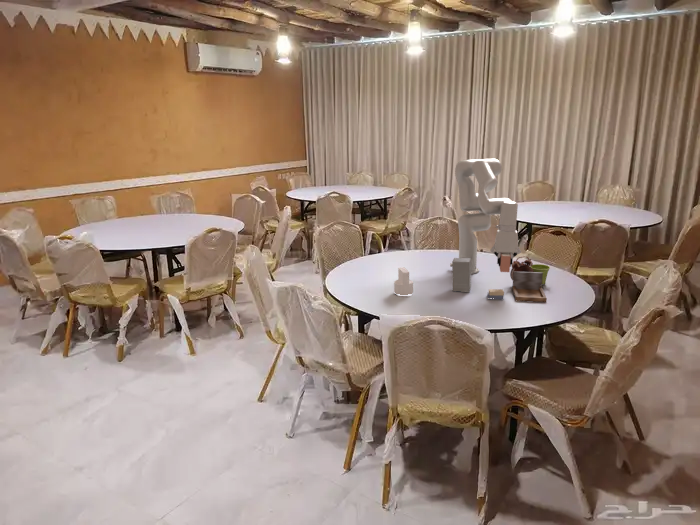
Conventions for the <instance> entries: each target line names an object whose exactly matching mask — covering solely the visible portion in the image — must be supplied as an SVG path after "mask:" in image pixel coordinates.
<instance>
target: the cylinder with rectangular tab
mask: <svg viewBox="0 0 700 525" xmlns="http://www.w3.org/2000/svg"><path fill="white" fill-rule="evenodd" d="M397 269H398V271H397V272H398V274H397V276H398V277H397V279H396V280H394V281H393V282H394V283H393V293H394V292H395V293H396V294H400V295H408V294H412V293H413V294H414V281H413V280H411V279H410V271H408V269H406V268H405V267H398V268H397Z"/></svg>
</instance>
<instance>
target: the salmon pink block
mask: <svg viewBox="0 0 700 525" xmlns="http://www.w3.org/2000/svg"><path fill="white" fill-rule="evenodd" d="M500 256H501V264H500V266H499V265H498V267H499V271H500V273H510V272H511V268H510V259H511V255H510V253H501V255H500Z"/></svg>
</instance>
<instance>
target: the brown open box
mask: <svg viewBox="0 0 700 525" xmlns="http://www.w3.org/2000/svg"><path fill="white" fill-rule="evenodd" d="M542 277H543V273H542V272H516V271H514V272H513V280H512V289H511V290H512V292H513V296H515V297H514V300H515V301H516V300H517V301H516V302H527V301H533V302H532V303H547V302H548V300H547V299H548V298H547V296H546V293H545V291H544V289H543V285H542Z"/></svg>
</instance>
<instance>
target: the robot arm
mask: <svg viewBox="0 0 700 525" xmlns="http://www.w3.org/2000/svg"><path fill="white" fill-rule="evenodd" d="M502 170H503V169H502V164H501V162H500V161H499V160H498V159H496V158H484V159H483V158H481V159H480V158H478V159H463V160H460V161H459V162H457V163H456V165H455V168H454V174H455V175H454V176H455V179H456V182H457V186H458V198H459V208H460V210H461V211H462V212H478V213H466V214H465V213H464V214H462V215H460V216H459V218H458V220H457V224H458V225H457V226H458V234H459V235H458V236H459V237H458V238H459V241H458V258H471V275H474V274H478V273H479V272H480V269H479V267H477V262H478V260H477V259H478V257H477V256H478V238H477V236H476V235H475V233H474V232H482V231H488V230H489V229H490V228H491V226H492V215H499V223H498V224H496V225H495V228H496V229H497V230H496V233H495V240H494V244H493V246H492V247H491V248H490V252H491V253H492V254H494V256H495V257H497V258H496V259H497V262H496V264H497V265H498V267H499V266H500V264H501V256H500V255H501V253H510V255H511V259H510V267H511V268H512V263H513V262H514V260H513V259H514V258H515V257H516V256H518V255H519V254H521V253H522V250H521V249H520V247H519V236H518V235H519V234H518V231H517V219H518V206H519V205H518V203H517V202H516V201H513V200H512V199H510V198H508V197H499V198H498V197H497V198H489V195H488V194H487V193H489V192H490V191H492V190H494V189H495V188H496V187H497V186H498V181H499V180H498V179H497V176H499V175H500V174H501V173H502ZM471 177H475V179H476V181H477V183H478V185H479V190H478V192H476V185H475V182H474V181H473V179H472V178H471ZM449 265H450V267H452V262H451V263H450V264H449Z"/></svg>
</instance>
